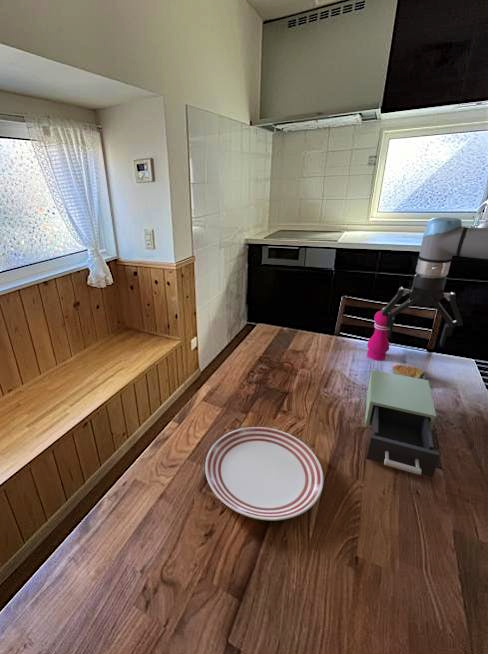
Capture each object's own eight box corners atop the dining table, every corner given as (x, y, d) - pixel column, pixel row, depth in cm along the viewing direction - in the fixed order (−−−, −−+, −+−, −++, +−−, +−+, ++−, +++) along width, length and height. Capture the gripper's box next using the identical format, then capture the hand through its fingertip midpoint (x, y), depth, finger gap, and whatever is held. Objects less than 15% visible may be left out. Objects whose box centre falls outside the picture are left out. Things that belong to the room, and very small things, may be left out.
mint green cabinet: (428, 442, 88) (436, 416, 84) (364, 426, 94) (370, 401, 91) (421, 404, 101) (428, 380, 98) (366, 392, 108) (371, 369, 104)
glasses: (293, 373, 120) (294, 361, 118) (281, 393, 110) (282, 380, 108) (259, 364, 127) (259, 352, 125) (244, 382, 117) (244, 369, 115)
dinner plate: (182, 472, 84) (182, 462, 82) (254, 420, 99) (254, 411, 98) (273, 559, 64) (274, 548, 63) (344, 477, 80) (346, 467, 78)
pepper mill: (370, 349, 132) (379, 302, 123) (390, 355, 126) (401, 307, 118) (361, 356, 127) (370, 307, 119) (382, 363, 122) (392, 313, 114)
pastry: (388, 373, 116) (390, 364, 115) (397, 367, 120) (399, 357, 118) (418, 386, 109) (420, 376, 108) (426, 378, 113) (429, 368, 111)
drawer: (434, 492, 74) (442, 469, 71) (365, 471, 80) (370, 449, 77) (425, 433, 90) (431, 412, 87) (368, 419, 95) (372, 399, 93)
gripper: (380, 274, 98) (368, 338, 107) (490, 283, 86) (467, 354, 95) (381, 267, 104) (370, 328, 113) (484, 275, 92) (463, 342, 101)
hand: (414, 340), depth 104 cm, fingers open, 13 cm apart
